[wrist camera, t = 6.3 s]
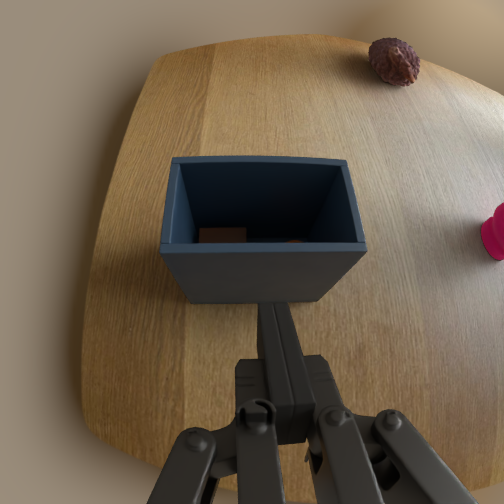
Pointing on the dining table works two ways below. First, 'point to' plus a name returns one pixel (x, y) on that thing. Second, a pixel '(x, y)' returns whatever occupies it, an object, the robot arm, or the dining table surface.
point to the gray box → (261, 227)
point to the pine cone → (394, 61)
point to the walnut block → (223, 235)
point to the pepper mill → (494, 234)
